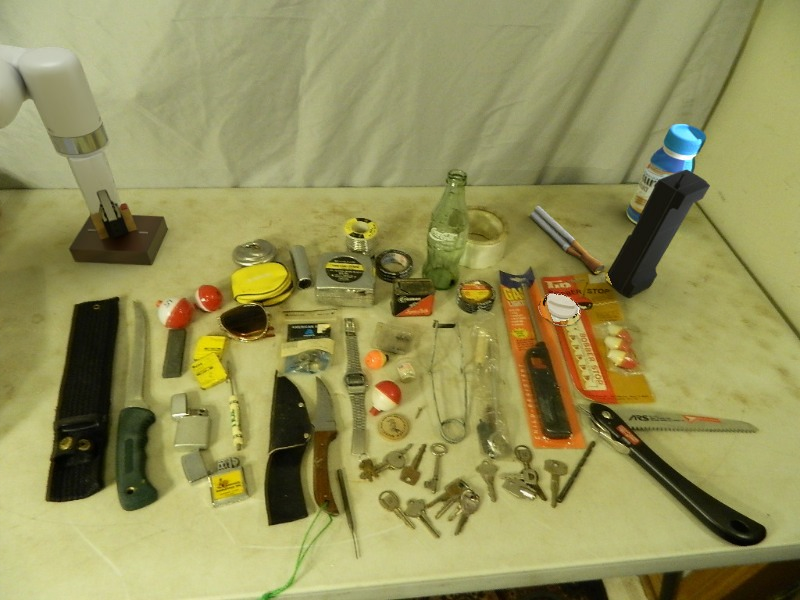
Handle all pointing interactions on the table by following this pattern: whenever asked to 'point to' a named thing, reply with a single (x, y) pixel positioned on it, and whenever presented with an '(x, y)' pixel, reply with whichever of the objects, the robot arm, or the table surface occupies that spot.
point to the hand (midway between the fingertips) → (117, 230)
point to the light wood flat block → (123, 210)
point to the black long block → (655, 231)
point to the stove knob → (561, 308)
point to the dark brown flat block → (121, 243)
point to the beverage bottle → (667, 163)
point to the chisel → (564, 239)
